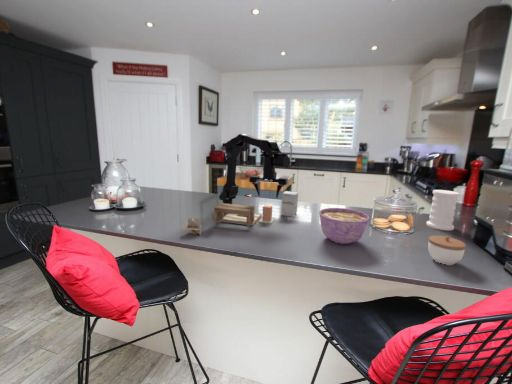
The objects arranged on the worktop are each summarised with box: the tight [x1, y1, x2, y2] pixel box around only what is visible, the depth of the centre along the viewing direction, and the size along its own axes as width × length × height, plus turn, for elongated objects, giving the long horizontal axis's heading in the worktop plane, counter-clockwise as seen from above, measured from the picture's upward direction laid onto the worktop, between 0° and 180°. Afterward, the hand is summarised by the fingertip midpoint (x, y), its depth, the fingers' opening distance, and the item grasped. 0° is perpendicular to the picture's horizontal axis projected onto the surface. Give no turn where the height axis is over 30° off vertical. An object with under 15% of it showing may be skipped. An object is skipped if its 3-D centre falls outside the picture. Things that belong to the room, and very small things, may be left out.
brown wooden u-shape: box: [213, 202, 256, 228], centre depth 124 cm, size 9×17×7 cm, turn 74°
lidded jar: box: [427, 235, 467, 266], centre depth 93 cm, size 11×11×9 cm
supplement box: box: [280, 190, 299, 217], centre depth 145 cm, size 7×7×13 cm
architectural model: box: [182, 217, 202, 236], centre depth 112 cm, size 3×7×7 cm, turn 86°
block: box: [261, 204, 273, 221], centre depth 134 cm, size 4×4×7 cm
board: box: [220, 212, 263, 226], centre depth 136 cm, size 16×17×2 cm
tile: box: [258, 216, 276, 225], centre depth 134 cm, size 9×6×1 cm
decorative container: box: [426, 189, 460, 231], centre depth 131 cm, size 12×12×18 cm
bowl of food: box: [318, 207, 370, 245], centre depth 110 cm, size 20×20×12 cm
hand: (268, 196), depth 132 cm, fingers open, 9 cm apart
